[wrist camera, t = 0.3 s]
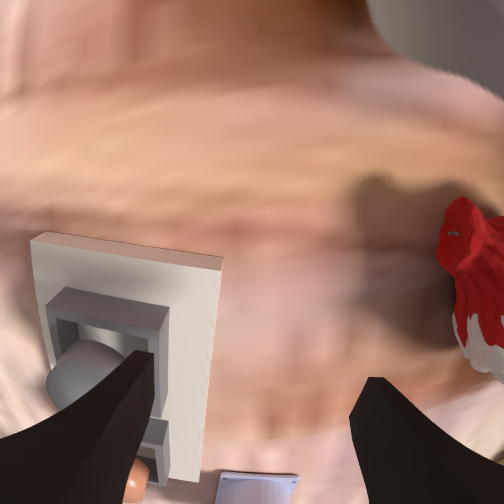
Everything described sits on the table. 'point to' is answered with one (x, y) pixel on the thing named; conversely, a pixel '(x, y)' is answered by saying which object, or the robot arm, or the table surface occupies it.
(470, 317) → the white red irregular piece
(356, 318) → the table surface
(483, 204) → the table surface
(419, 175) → the table surface
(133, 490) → the terracotta button
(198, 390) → the button panel
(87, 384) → the grey low dome
